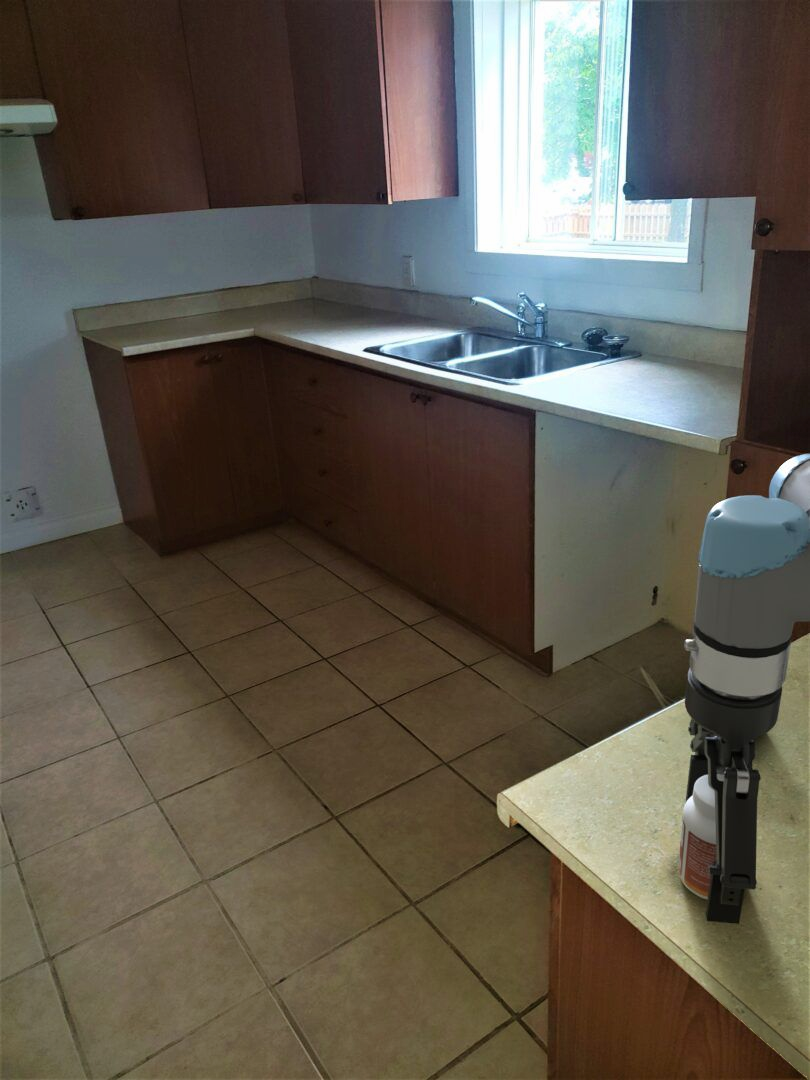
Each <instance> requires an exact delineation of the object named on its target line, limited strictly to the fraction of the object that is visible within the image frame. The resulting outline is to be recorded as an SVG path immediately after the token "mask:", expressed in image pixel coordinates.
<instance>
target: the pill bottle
mask: <svg viewBox="0 0 810 1080" xmlns="http://www.w3.org/2000/svg"><path fill="white" fill-rule="evenodd" d="M723 776H724V775H720V774H717V779H718V780H719V781H723ZM685 802H686V801H685ZM685 802H684V805H683V809H682V818H681V828H680V829H681V831H680V839H679V840H680V842H679V854H678V864H677V865H678V870H677V871H678V876H679V878H680V881H681V883H682V884H683V885H684V886H685V887H686V888H687V890H688V891H690V892H691V893H692V894H694V895H696V896H697V897H699V898H701V899H703V900H706V901H707V899H708V892H709V885H710V877H711V874H709V873H708V867H707V866H712V863H713V861H717V859H716V822H715V792H714V790H713V789H712V788H710V786H709V784H708V775H704V776H702V777H700V778H699V779H698V780H697V781H696V782H695V784H694V790H693V796H691V797H690V798H689V799H688V800H687V802H686V803H685Z"/></svg>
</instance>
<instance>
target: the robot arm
mask: <svg viewBox="0 0 810 1080" xmlns="http://www.w3.org/2000/svg"><path fill="white" fill-rule="evenodd" d="M697 561H698V574H697V584H696V585H697V587H696V598H695V599H696V600H695V608H694V609H695V610H694V617H693V628H692V636H693V639H691V638H689V639H685V640H684V641H683V645H684V646H683V648H684V650H686V652H690V653H689V654H690V655H689V662H688V663H689V665H688V666H689V669H688V671H687V677H686V686H685V696H684V707H685V710H686V712H687V714H688V716H689V717H690V718H691V719H690V721H689V726H688V727H687V731H688V732H689V735H690V736H693V738H692V739H691V740H690V744H689V748H690V750H691V752H692V753H694V754H690V757H689V758H690V759H689V767H688V768H689V769H688V776H687V785H686V794H685V802H684V804H685V803H686V802H687V800H688V799H689V798H690V797H691V796H693V790H694V784H695V782H696V781H697V780H698V779H699V778H700V777H702V776H704V775H708V784H709V786H710V788H712V789H713V790H714V792H715V822H716V859H717V861H713V863H712V866H707V867H708V873H709V874H711V877H710V885H709V892H708V899H707V900H706V907H705V919H706V922H711V923H723V924H734V925H740V920H741V915H742V909H743V903H744V897H745V890H756V888H757V884H758V881H757V842H758V841H757V840H758V839H757V837H758V835H757V834H758V833H757V832H758V796H759V788H760V781H761V774H760V771H759V769H754V768H753V761H754V760H755V759H756V746H755V745H756V744H755V741H754V740H755V739H756V738H758V737H760V736H763V735H765V734H767V733H768V732H770V731H771V730H772V729H773V728H774V727H775V725H776V724H777V722H778V718H779V713H780V706H781V701H782V694H783V685H784V683H785V681H786V677H787V676H786V675H787V671H788V664H789V657H790V653H791V646H792V638H793V630H794V626H795V624H796V623H798V622H803V623H804V622H805V623H806V622H807V623H809V622H810V452H808V453H804V454H800V455H796V456H793V457H792V458H790V459H788V460H787V461H785V462H784V463H783V464H782V465H781V466H779V468H778V469H777V470H776V471H775V473H774V475H773V476H772V478H771V480H770V484H769V488H768V497H765V496H762V495H757V494H756V495H755V494H754V495H753V494H752V495H750V494H749V495H737V496H733V497H729V498H727V499H724V500H722V501H719V502H718V503H716V504H715V505H714V506H713V507H712V508H711V509H710V511H708V514H707V516H706V520H705V524H704V529H703V534H702V539H701V546H700V549H699V553H698V556H697ZM717 774H720V775H724V776H723V781H719V780H718V779H717Z"/></svg>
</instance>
